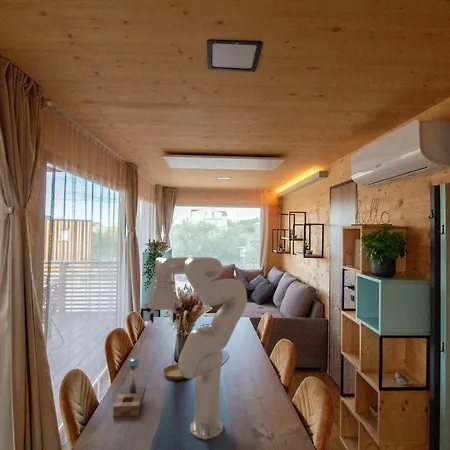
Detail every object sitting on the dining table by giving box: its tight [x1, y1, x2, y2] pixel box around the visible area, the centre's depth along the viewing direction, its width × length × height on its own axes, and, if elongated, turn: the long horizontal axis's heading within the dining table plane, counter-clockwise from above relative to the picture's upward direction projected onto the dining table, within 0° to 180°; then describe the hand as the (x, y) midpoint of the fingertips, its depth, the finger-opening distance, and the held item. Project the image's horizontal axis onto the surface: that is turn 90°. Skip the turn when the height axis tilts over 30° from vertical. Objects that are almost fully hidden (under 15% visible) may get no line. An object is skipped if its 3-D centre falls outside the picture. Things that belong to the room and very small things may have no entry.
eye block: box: [112, 393, 143, 417], centre depth 136 cm, size 10×10×4 cm
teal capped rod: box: [127, 357, 140, 394], centre depth 149 cm, size 5×5×15 cm
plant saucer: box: [162, 363, 186, 380], centre depth 169 cm, size 15×15×3 cm
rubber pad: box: [120, 386, 146, 399], centre depth 149 cm, size 10×10×1 cm
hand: (163, 321), depth 147 cm, fingers open, 9 cm apart
